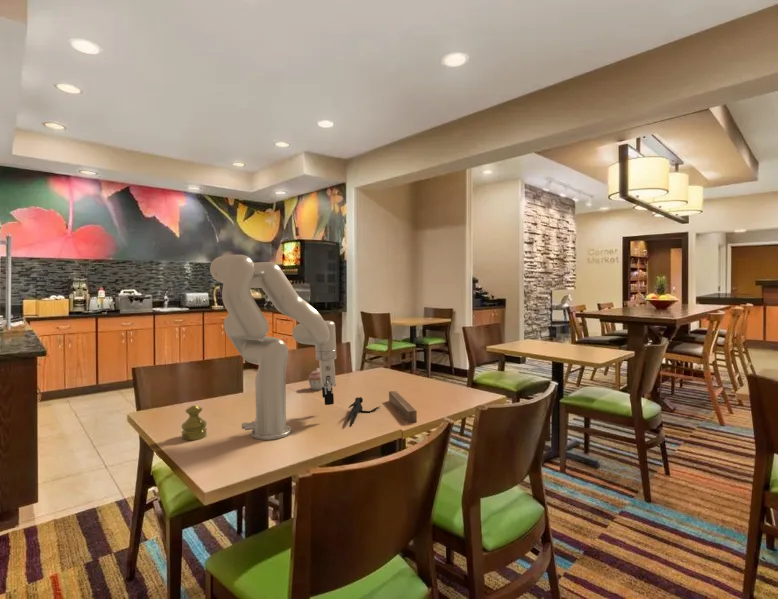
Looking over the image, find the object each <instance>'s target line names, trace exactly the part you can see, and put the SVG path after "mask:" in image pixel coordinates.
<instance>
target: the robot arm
mask: <svg viewBox="0 0 778 599" xmlns="http://www.w3.org/2000/svg"><path fill="white" fill-rule="evenodd" d="M209 266H210V267H209V271H210V275H211V277H212V278H213V279H214V280H215V281H217V282H218V283H221V284H223V285H222V290H221V291H222V292H221V293H222V294H221V298H222V303H223V306H224V307H225V309H226V310H227V313H228V314H227V315H226V316H225V318H224V322H223V327H224V331H225V334H226V336H227V337H228V338H229V340H230V342H231V343H232V344H233V346H234V348H235V349H236V350H237V352H238V353H239V355H240V356H241V358H243V360H244V361H246V362H247V363H249V364H254V365H258V368H257V372H256V375H255V383H254V384H255V385H254V386H255V420H251V421H250V422H241V429H242V430H244V431H251V432H250V436H251V438H254V439H257V440H262V441H263V440H265V441H266V440H268V441H269V440H276V439H281V438H284V437H285V438H286V437H287V436H289V435H290V434H291V433H292V427H291V426H289V425H288V424H287V395H286V394H287V393H286V392H287V391H286V390H287V389H286V387H287V386H286V384H287V383H286V382H287V381H286V378H287V377H286V373H287V372H286V371H287V364H288V358H289V350H288V346H287V344H286V343H285V341H283V340H282V339H280V338H278V337H274V336H267V335H268V333H269V330H270V329H269V328H270V326H269V322H268V320H267V318H266V317H265V315H264V313H263V312H262V310H261V309H260V307H259V306H258V304H257V302H256V301H255V299H254V296H253V294H252V291H251V289H253V288H254V289H262V291H263V292H264V293H265V295H266V296H267V297H268V299H269V301H270V302H271V303H272V304H273V306H274V308H275V309H276V310H277V311H278V312H280V313H281V314H283V315H285V316H286V317H289V318H291V319H293V320H295V321H297V322H298V324H296V325H295V326H294V328H293V330H292V338H293V340H294V341H295V342H297V343H298V344H303V345H310V346H311V345H312V346H314V347H315V348H314V349H315V361H319V362H318V363H319V366H318V367H319V369H320V378H321V383H322V386H323V387H322V390H321V391H322V392H321V393H322V395H321V396H322V398H324V405H325V406H330V405H334V403H335V399H334V390H333V387H336V386H337V380H336V367H335V366H336V365H335V360H336V359H337V341H336V340H337V339H336V338H337V336H336V323H335V322H334V321H333V320H325V319H324V318H323V317H322V315H321V314H320V313H319V311H317V309H315V308H314V307H313V306H312V305H311V304H310V303H308V302H307V301H306V300H304V299H303V298H302V297H300V296H299V294H298V293H297V291H296V290H295V289H294V287H293V285H292V284H291V282H290V281H289V279H288V278H287V276H286V275H285V273H284V271H283V270H282V269H281V267H280V266H279V265H278V264H277V263H275V262H272V261H263V262H261V261H259V262H254V261H253V260H252V259H251V257H249V256H247V255H245V254H231V255H230V254H229V255H221V256H218V257H215V258H214V259H213V261H212V262H211V264H210V265H209Z"/></svg>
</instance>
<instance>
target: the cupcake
mask: <svg viewBox="0 0 778 599" xmlns="http://www.w3.org/2000/svg"><path fill="white" fill-rule="evenodd" d="M307 381H308V384H309V386H310V387H309V388H310V390H312V391H322V387H323V386H322V383H321V378H320V368H319V367H316V368H315V370H313V371H312V372H311V373H310V374H309V375H308V378H307Z"/></svg>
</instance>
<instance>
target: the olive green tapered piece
mask: <svg viewBox="0 0 778 599" xmlns="http://www.w3.org/2000/svg"><path fill="white" fill-rule="evenodd" d="M184 411H185V413H186V414H188V416H189V417H188V418H186V420H185V421H184V422H183V423H182V424H181V429H182V431H181V438H182V439H183V440H184V441H196V439H198V440H201V439H204V438H205V437H206V436H208V435H207V430H208V428H207V420H204V419H203V418H202V417H201V416H199V415H200V413H201V412H202V411H203V407H201V406H198V405H195V404H194V405H191V406H190V407H188V408H186V409H185V410H184ZM203 437H204V438H203Z"/></svg>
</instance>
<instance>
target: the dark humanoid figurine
mask: <svg viewBox="0 0 778 599" xmlns="http://www.w3.org/2000/svg"><path fill="white" fill-rule="evenodd" d="M363 400H364V399H363V398H362V397H361V396H360V397H359V396H358V397H355V398H354V402H353V403H351V404H350V405H349V406H348V408H347V409H350V408H351V410H350V412H349V414H348V417H347V422H349V421H350V424H349V428H351V427H353V425H352V424H354V423H355V421H356V419H357V416H358V413H359V412H361V413H360V414H371V413H370V412H372V413H374V412H375V411H376V410H379V409H380V408H381V407H382V406H380V405H379V406H377V407H374V408H373V409H371V410H363V405H362V403H363Z"/></svg>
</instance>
